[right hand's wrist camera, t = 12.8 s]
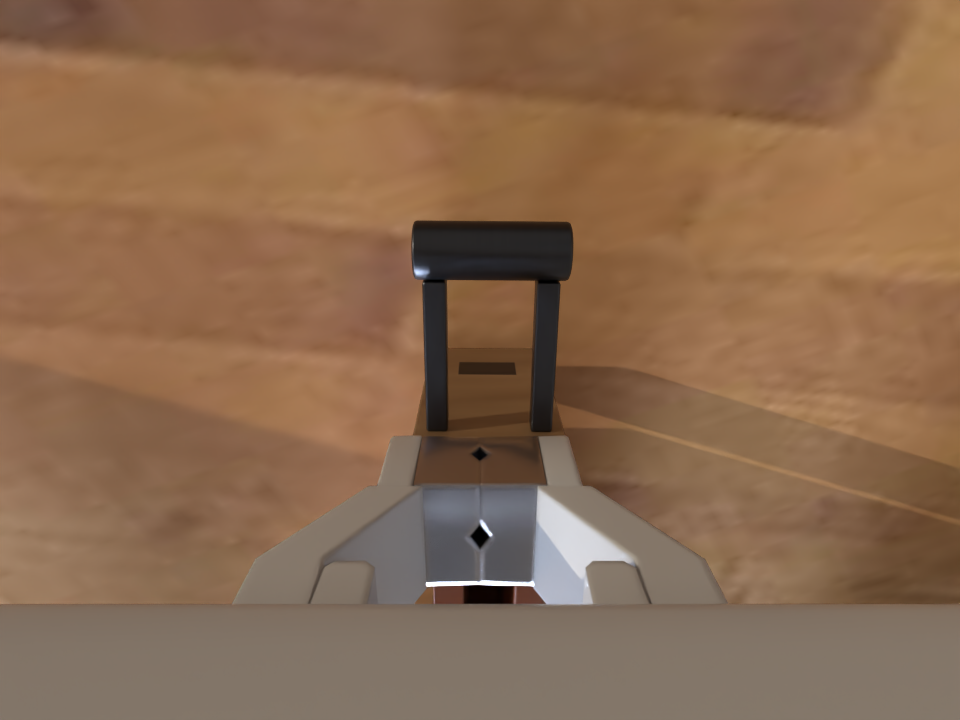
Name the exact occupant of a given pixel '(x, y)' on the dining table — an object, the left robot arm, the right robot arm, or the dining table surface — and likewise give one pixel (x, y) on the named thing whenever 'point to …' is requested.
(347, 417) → the dining table surface
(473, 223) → the drawer
